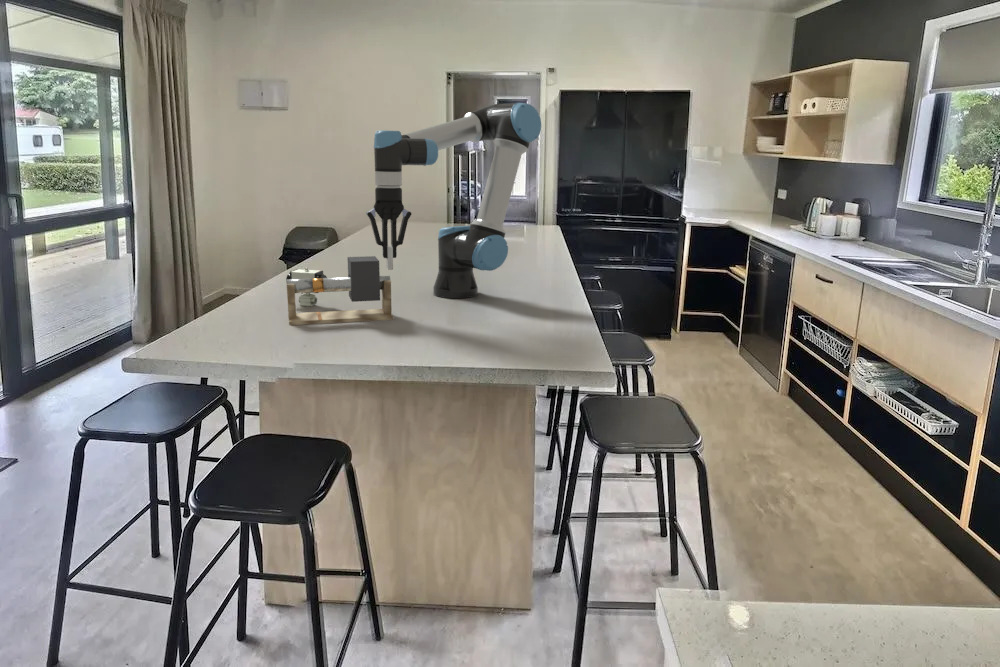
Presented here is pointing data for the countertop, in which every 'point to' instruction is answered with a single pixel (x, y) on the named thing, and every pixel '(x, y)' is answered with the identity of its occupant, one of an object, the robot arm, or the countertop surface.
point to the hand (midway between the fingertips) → (389, 268)
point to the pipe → (326, 284)
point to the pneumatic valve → (307, 298)
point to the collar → (364, 278)
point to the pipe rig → (340, 315)
